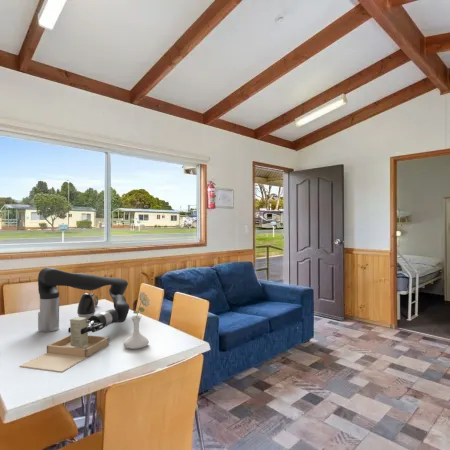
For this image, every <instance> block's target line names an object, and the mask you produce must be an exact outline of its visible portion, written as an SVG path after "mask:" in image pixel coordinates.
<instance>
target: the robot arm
mask: <svg viewBox="0 0 450 450" xmlns="http://www.w3.org/2000/svg"><path fill="white" fill-rule="evenodd" d="M128 285H129V283H128V281H127V280H126V279H124V278H120V277H111V276H110V277H109V276H108V277H107V276H101V275H96V274H90V273H84V272H83V273H80V272H68V271H65V270H61V269H57V268H54V267H43V268H42V269H41V270H40V271H39V273H38V276H37V286H38V293H39V312H38V313H37V316H38V317H37V321H38V322H37V331H39V332H41V333H49V332H50V333H51V332H54V331H57V330H59V329H60V291H59V290H58V286H60V287H70V288H74V289H78V290H84V291H95V290H98V289H101V288H103V287H106V286H110V287H109V289H108V292H109V295H110V297H111V300H112V302H113V309H108V310H105V311H101V312H99V313H95V314H94V315H93V316H91V317H90V318H89V319H87V327H85V328H83V329H81V334H84V333H87V332H88V333H90V332H91V333H95V332H98V331H101V330H102V329H104V328H106V327H108V326H110V325H112V324H115V323H116V324H117V323H118V324H119V323H124V322H125V321H126V320H127V317H128V314H129V311H130V305H129V304H128V302H127V298H126V297H125V295H124V294H125V292H126V289H127V288H128ZM68 333H69V334H71V333H70V327H68Z"/></svg>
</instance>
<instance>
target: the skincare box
mask: <svg viewBox="0 0 450 450" xmlns="http://www.w3.org/2000/svg"><path fill="white" fill-rule="evenodd" d="M87 320H88V319H87V318H84V317H79V316H76V317H73V318H70V319H69V321H70V323H69V324H70V327H69V328H70V333H69V334H70V335H71V346H76V347H83V346H85V345H87V344H88V335H89V332H87V333H84V334H81V329H83V328H85V327H87Z"/></svg>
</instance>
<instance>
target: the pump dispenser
mask: <svg viewBox="0 0 450 450" xmlns="http://www.w3.org/2000/svg"><path fill="white" fill-rule="evenodd" d="M93 295H95V293H94V292H92V293H89V292H85V293H84V294H82V295H81V297H80V298H79V301H78V306H77V312H76V314H77V315H78V316H77V317H84V318H87V320H89V318H90V317H91V316H93V315H96V310H97V309H96V307H95V303H94V300H93V298H92V296H93Z"/></svg>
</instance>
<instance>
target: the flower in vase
mask: <svg viewBox="0 0 450 450" xmlns="http://www.w3.org/2000/svg"><path fill="white" fill-rule="evenodd" d="M138 298H139V301H140V303H139V307H138V308H137V309H138V310H133V312H132V313H133V314H135V315H132V316H130V319H131V321H132V324H133V333H132V334H131V335H130V336H128V337H127V338H126V339H125V340H124V341H123V344H122V345H123V346H124V347H125V348H127V349H131V350H137V349H141V348H144V347H146V346H148V344H149V341H150V340H149V339H148V338H147V337H146V336H144V335H143V334H142V333H141V332H140V328H139V327H140V322H141V319H142V317H143V316H142V315H138V314H139V312H140V313H144V312H145V308H149V307H150V305H151V303H150V299H149V297H148V294H145V291H140V292H139V294H138ZM141 305H142V306H143V307H142V306H141ZM144 307H145V308H144Z"/></svg>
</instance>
